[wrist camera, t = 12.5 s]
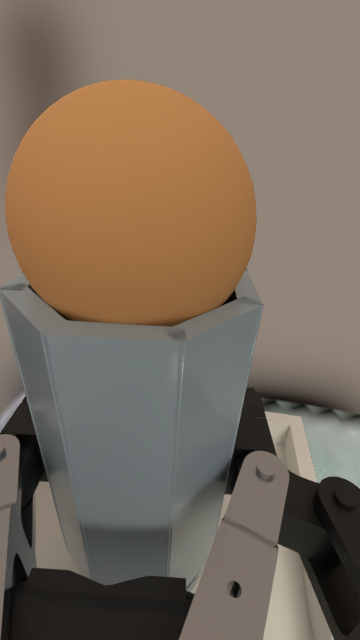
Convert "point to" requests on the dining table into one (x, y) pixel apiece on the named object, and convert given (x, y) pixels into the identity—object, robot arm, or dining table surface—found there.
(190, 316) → the ball
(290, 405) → the dining table surface
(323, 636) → the tray
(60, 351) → the cup
